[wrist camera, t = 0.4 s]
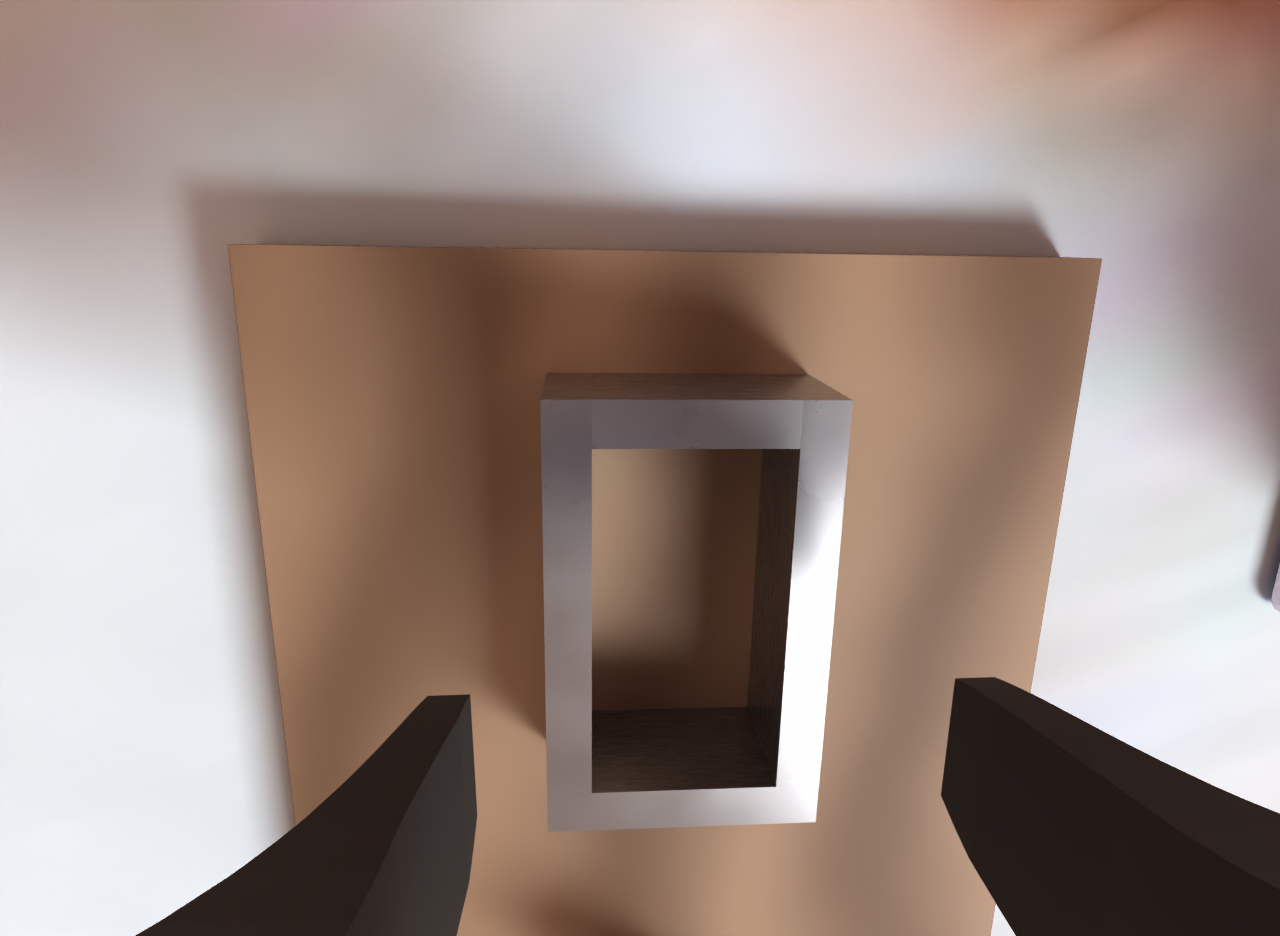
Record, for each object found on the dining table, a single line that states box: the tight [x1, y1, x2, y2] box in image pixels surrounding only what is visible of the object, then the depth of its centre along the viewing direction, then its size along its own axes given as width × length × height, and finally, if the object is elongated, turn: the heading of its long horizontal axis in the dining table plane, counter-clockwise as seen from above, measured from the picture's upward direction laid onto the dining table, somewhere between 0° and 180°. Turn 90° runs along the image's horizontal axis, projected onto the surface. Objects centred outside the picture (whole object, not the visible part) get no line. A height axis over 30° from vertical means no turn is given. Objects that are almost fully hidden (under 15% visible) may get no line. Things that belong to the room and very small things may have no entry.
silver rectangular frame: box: [540, 373, 853, 832], centre depth 17 cm, size 6×9×3 cm, turn 179°
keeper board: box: [228, 244, 1102, 936], centre depth 18 cm, size 18×24×6 cm
